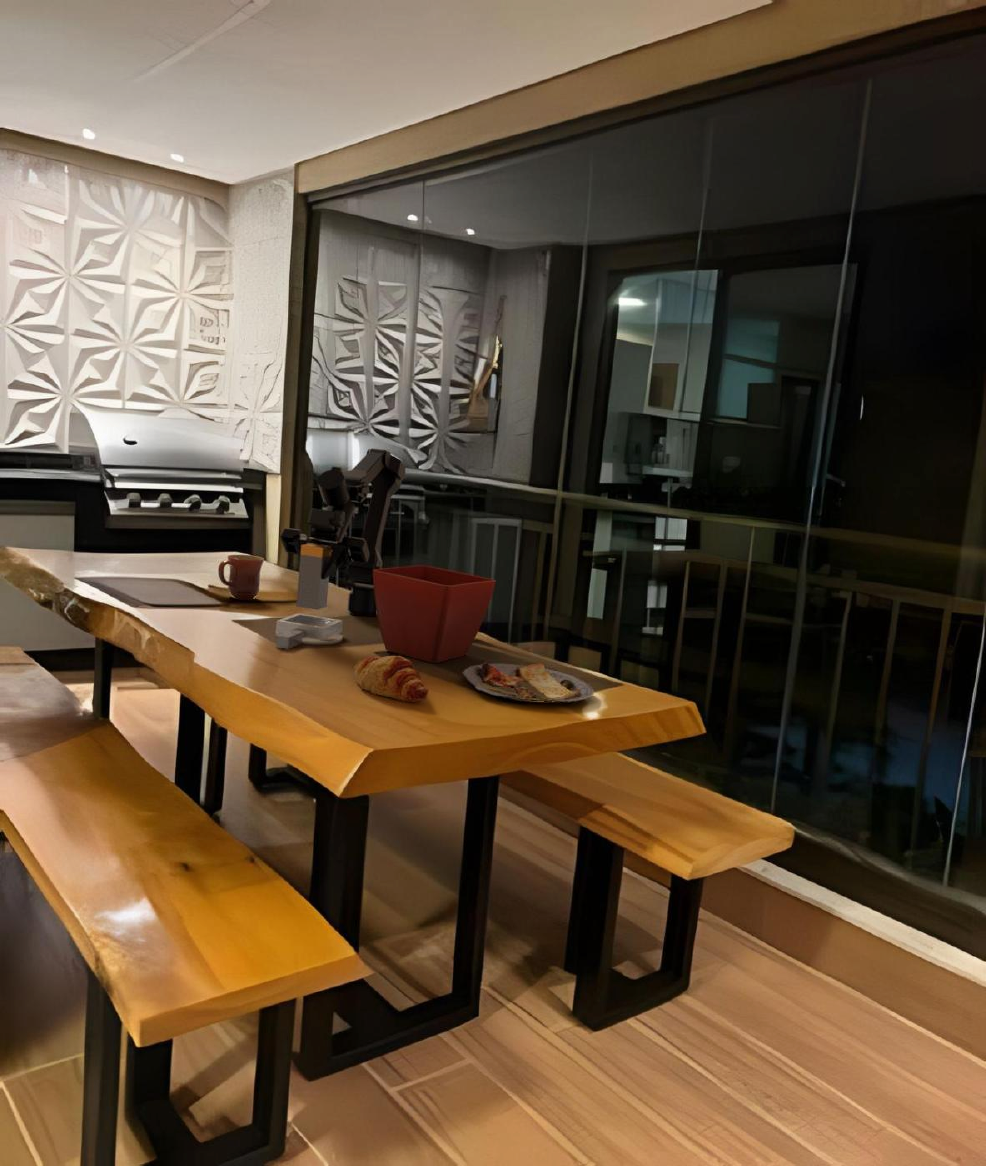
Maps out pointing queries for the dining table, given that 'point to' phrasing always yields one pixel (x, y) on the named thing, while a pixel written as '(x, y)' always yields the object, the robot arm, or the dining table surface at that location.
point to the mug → (242, 575)
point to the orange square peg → (313, 576)
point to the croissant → (390, 678)
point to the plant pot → (430, 610)
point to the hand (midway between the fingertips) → (311, 576)
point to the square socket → (307, 630)
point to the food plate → (529, 681)
